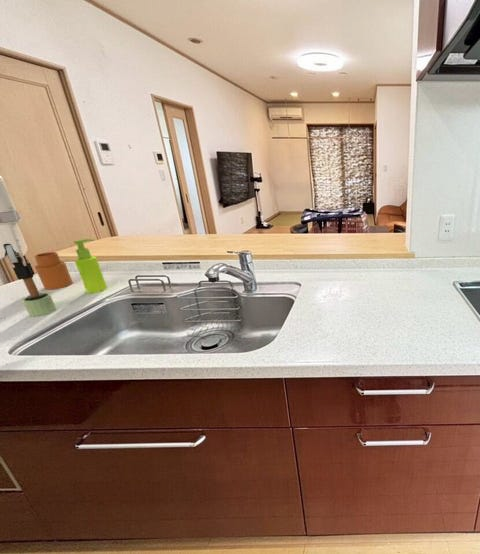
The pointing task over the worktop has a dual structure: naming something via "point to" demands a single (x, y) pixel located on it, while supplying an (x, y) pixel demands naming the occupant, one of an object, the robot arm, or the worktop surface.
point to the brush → (32, 289)
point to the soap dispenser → (89, 268)
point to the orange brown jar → (52, 271)
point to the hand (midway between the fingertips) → (26, 276)
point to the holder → (40, 306)
